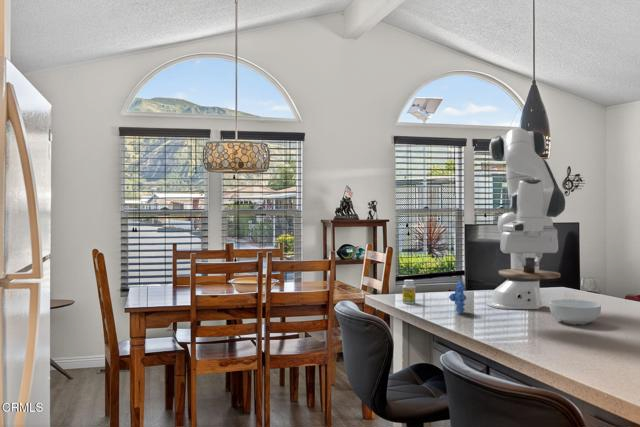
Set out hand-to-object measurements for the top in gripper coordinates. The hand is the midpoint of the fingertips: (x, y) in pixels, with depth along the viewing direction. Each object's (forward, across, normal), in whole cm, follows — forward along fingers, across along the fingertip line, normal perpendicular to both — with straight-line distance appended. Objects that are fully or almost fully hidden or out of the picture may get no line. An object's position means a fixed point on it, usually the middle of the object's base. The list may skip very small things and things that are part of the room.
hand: (529, 266), depth 205 cm
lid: (+3, 0, 0) cm, 3 cm away
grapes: (+21, +13, -28) cm, 37 cm away
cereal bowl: (+21, -20, -3) cm, 29 cm away
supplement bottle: (+22, +24, -53) cm, 62 cm away
